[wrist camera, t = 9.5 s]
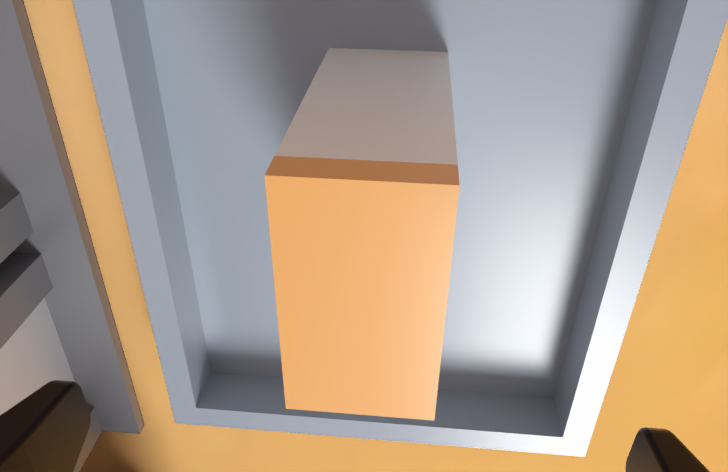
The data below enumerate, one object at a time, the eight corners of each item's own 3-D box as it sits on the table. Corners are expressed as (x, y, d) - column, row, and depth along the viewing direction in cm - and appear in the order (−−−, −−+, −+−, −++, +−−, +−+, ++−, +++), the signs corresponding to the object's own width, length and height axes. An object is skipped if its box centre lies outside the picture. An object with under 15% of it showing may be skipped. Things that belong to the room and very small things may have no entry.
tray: (571, 405, 25) (584, 457, 23) (195, 377, 26) (175, 423, 24) (789, -357, 12) (863, -399, 10) (48, -347, 14) (-21, -381, 12)
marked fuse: (433, 230, 20) (434, 420, 14) (332, 225, 20) (285, 408, 14) (448, 51, 17) (459, 185, 10) (328, 47, 17) (264, 175, 11)
